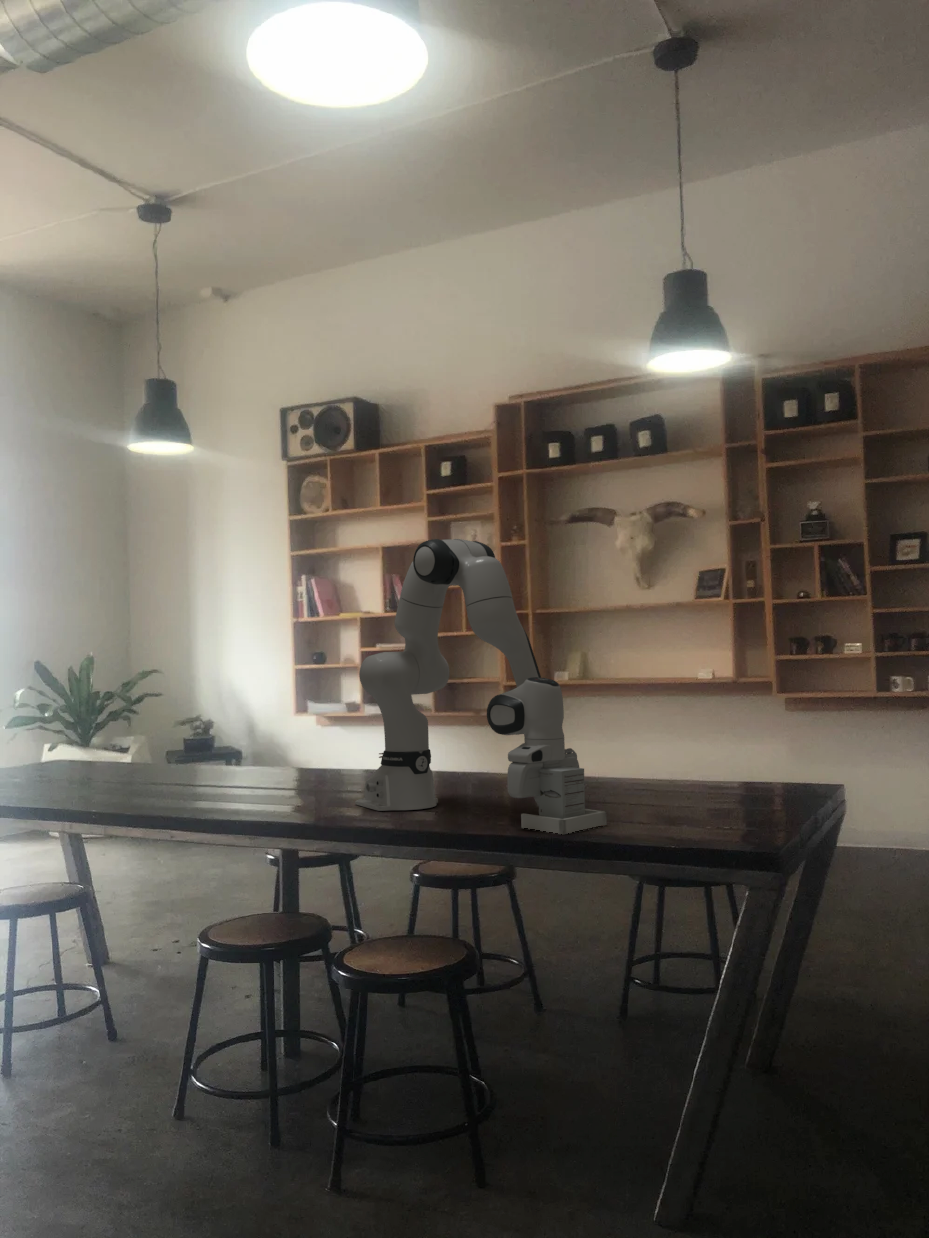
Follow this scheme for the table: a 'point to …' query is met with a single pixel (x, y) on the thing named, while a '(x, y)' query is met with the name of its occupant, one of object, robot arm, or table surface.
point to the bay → (564, 822)
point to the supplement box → (561, 792)
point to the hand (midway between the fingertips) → (546, 814)
